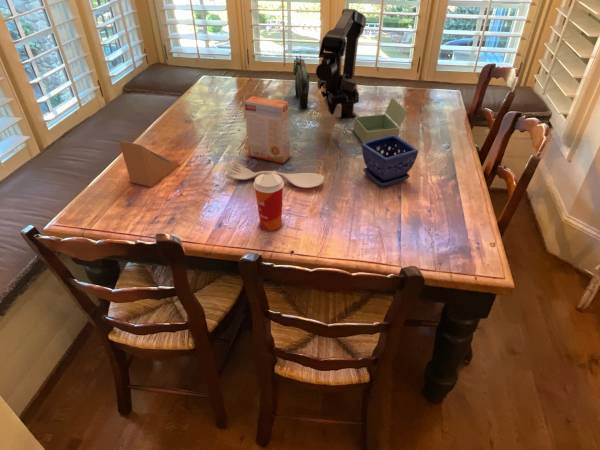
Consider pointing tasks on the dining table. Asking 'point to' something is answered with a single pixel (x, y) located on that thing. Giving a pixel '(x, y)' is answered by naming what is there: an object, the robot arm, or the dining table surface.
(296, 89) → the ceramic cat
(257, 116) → the cracker box
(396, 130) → the carton
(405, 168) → the flower pot
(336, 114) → the lighter
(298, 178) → the spoon
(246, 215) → the dining table surface
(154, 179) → the sandwich container
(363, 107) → the dining table surface
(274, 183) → the coffee cup
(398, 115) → the flap
